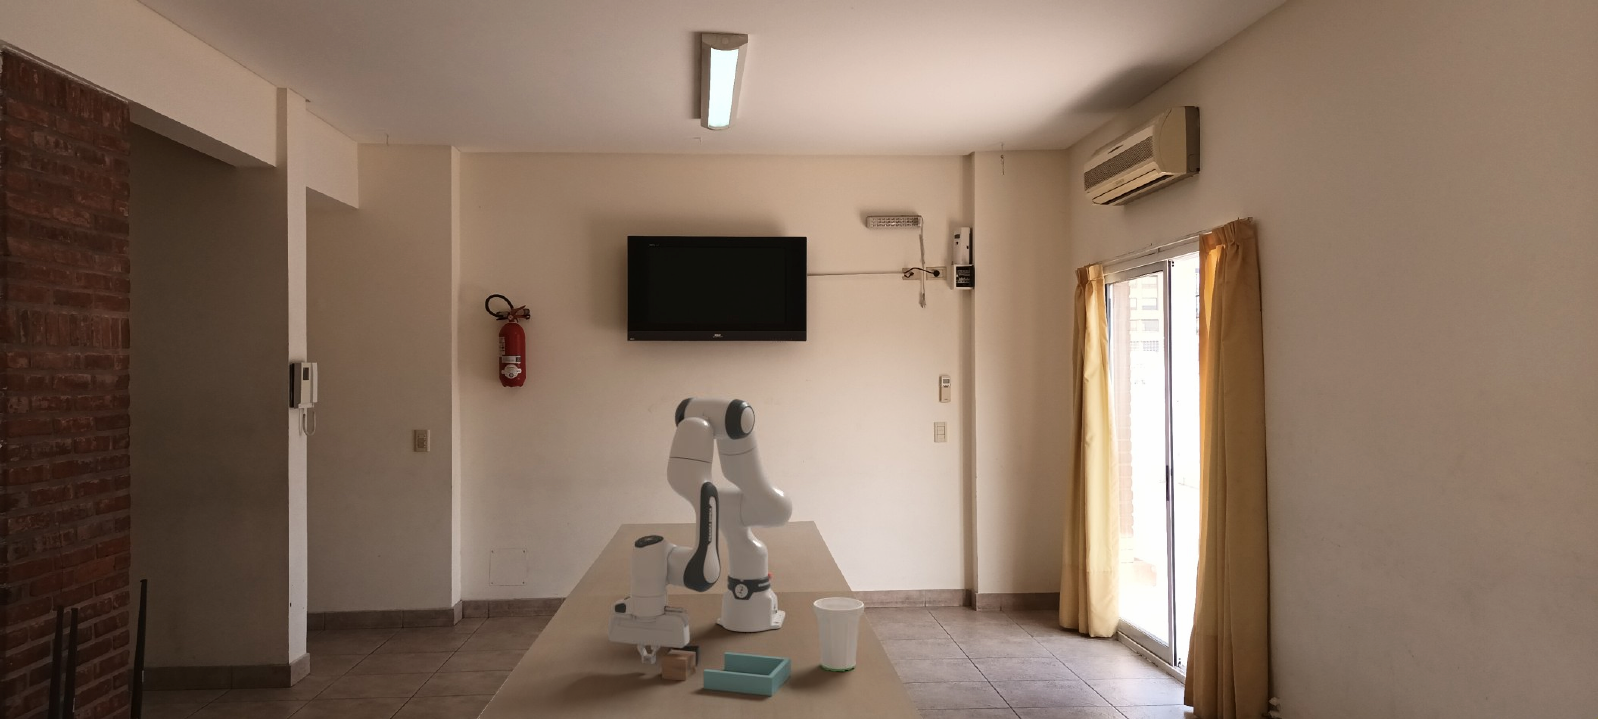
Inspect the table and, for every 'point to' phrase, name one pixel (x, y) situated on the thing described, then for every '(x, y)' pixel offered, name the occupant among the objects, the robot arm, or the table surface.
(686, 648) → the phone
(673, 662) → the walnut block
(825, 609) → the cup
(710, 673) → the box
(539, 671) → the table surface
